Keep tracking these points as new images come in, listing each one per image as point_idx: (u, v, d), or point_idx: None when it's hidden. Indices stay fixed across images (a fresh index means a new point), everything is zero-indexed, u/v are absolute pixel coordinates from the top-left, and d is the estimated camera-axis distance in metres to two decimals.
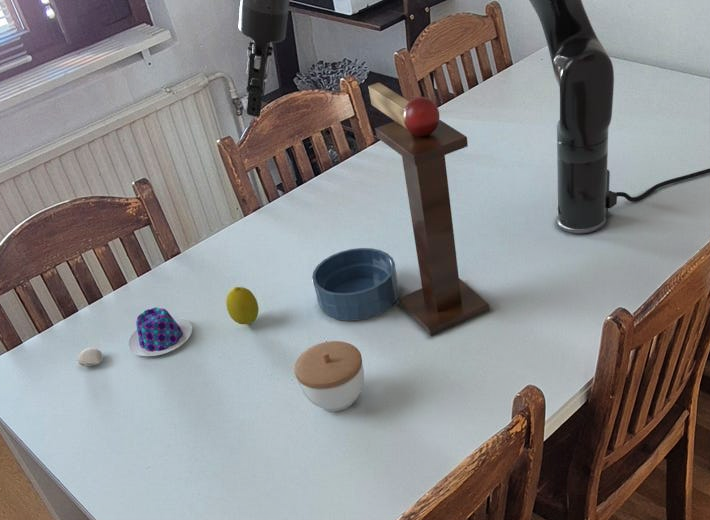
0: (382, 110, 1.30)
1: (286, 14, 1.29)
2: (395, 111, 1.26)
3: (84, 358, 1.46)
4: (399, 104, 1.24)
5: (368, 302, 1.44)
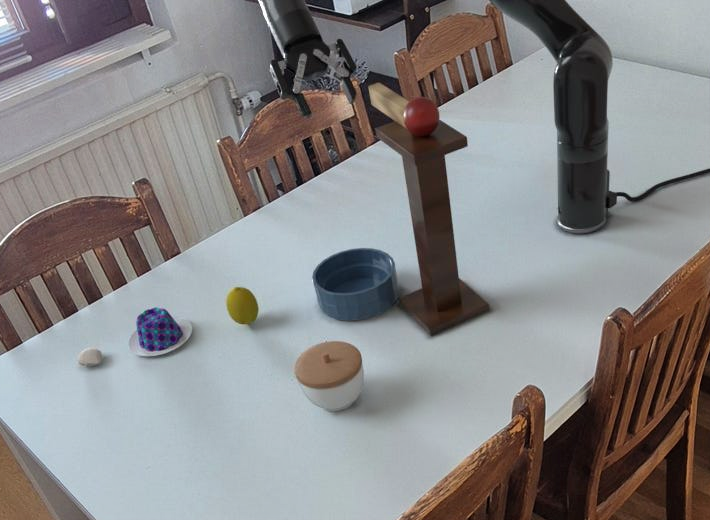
0: (382, 110, 1.30)
1: (287, 14, 1.37)
2: (395, 111, 1.26)
3: (84, 358, 1.46)
4: (399, 104, 1.24)
5: (368, 302, 1.44)
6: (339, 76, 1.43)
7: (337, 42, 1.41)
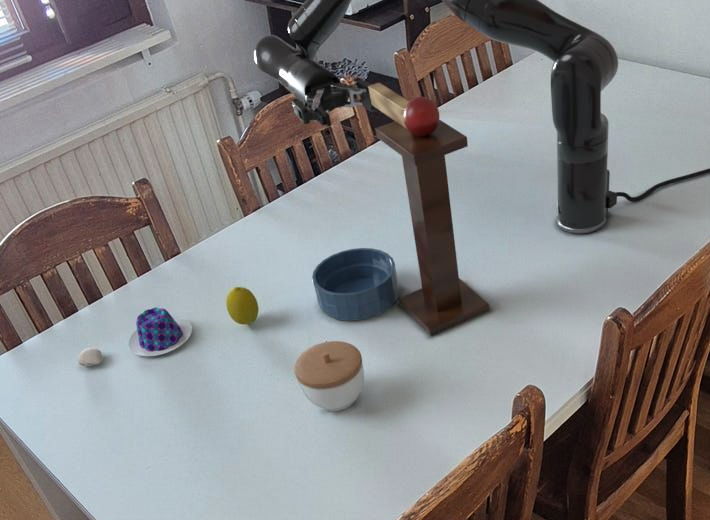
0: (382, 110, 1.30)
1: (304, 68, 1.48)
2: (395, 111, 1.26)
3: (84, 358, 1.46)
4: (399, 104, 1.24)
5: (368, 302, 1.44)
6: (360, 101, 1.46)
7: (355, 79, 1.48)
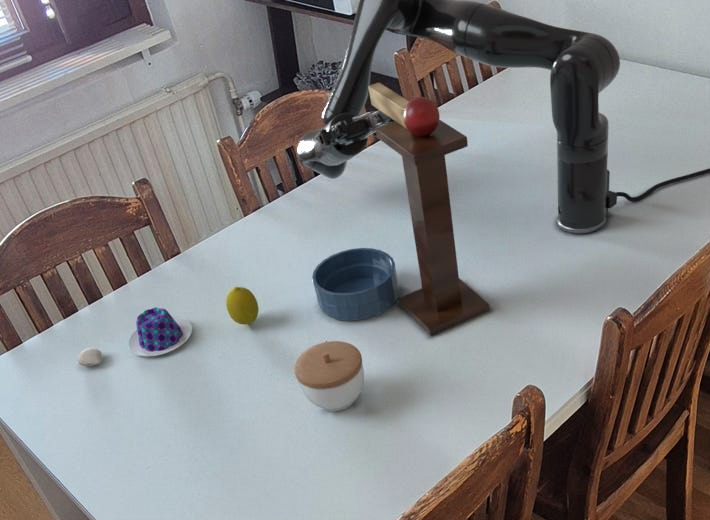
0: (382, 110, 1.30)
1: None
2: (395, 111, 1.26)
3: (84, 358, 1.46)
4: (399, 104, 1.24)
5: (368, 302, 1.44)
6: (380, 122, 1.46)
7: (377, 115, 1.50)
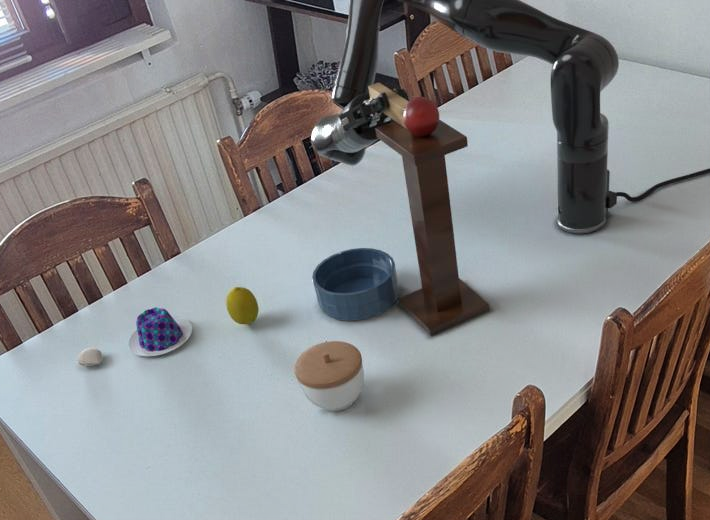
0: None
1: None
2: (395, 111, 1.26)
3: (84, 358, 1.46)
4: (399, 104, 1.24)
5: (368, 302, 1.44)
6: None
7: None
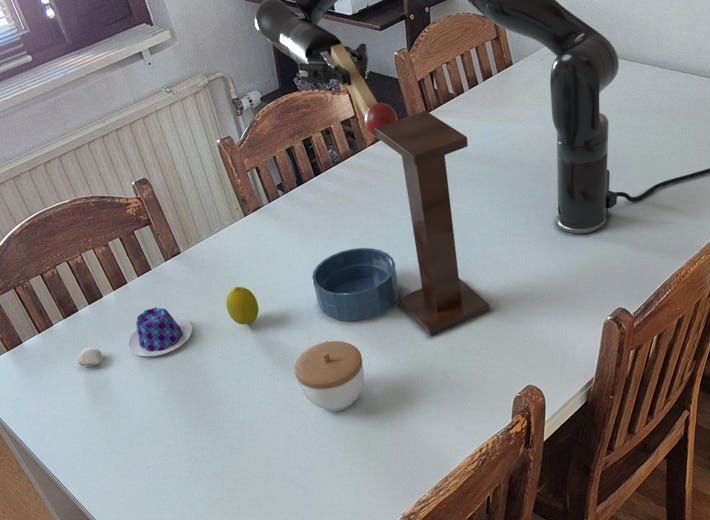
0: None
1: (306, 30, 1.42)
2: (355, 94, 1.35)
3: (84, 358, 1.46)
4: (361, 93, 1.34)
5: (368, 302, 1.44)
6: None
7: (360, 45, 1.41)
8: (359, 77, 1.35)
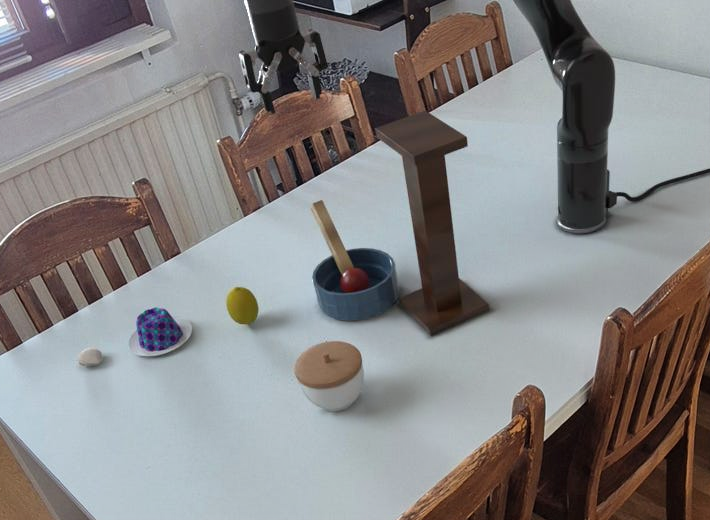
0: (320, 229, 1.51)
1: (271, 13, 1.28)
2: (333, 251, 1.50)
3: (84, 358, 1.46)
4: (338, 254, 1.49)
5: (368, 302, 1.44)
6: None
7: (314, 36, 1.35)
8: (337, 237, 1.49)
